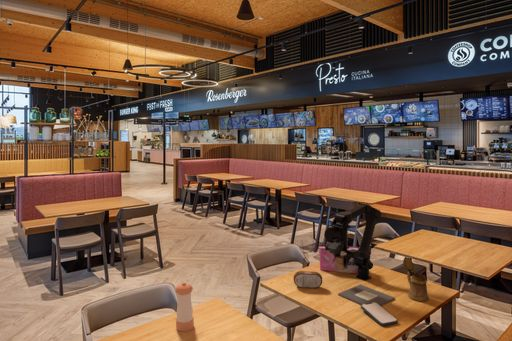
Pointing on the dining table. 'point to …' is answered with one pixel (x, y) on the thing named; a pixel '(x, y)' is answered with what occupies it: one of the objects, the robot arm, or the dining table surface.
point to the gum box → (329, 260)
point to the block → (340, 263)
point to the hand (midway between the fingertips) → (341, 265)
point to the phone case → (379, 314)
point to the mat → (365, 295)
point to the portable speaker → (307, 279)
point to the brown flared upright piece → (416, 283)
